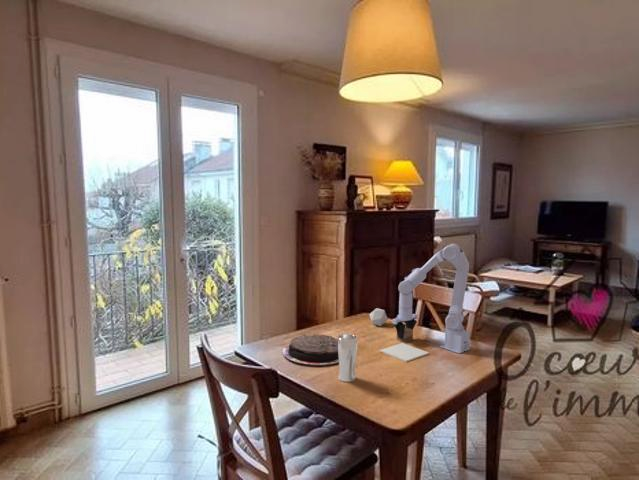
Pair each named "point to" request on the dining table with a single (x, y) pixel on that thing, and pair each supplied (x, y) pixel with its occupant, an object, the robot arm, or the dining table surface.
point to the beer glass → (347, 356)
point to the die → (378, 317)
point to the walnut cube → (406, 335)
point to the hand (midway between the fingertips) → (404, 336)
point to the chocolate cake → (312, 350)
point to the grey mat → (404, 352)
